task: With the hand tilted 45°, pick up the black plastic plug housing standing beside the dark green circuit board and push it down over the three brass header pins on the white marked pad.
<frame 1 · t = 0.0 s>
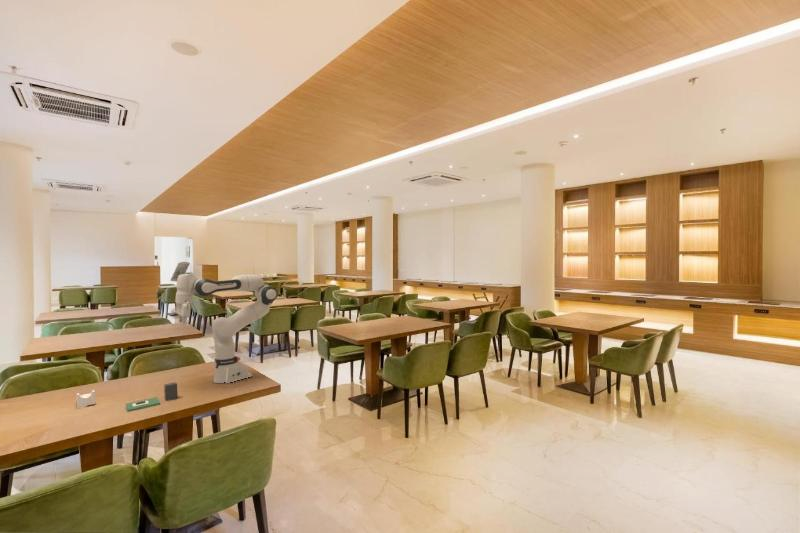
hand: (182, 323, 223), 39 cm above the table, tool pointing down, fingers open, 8 cm apart
header board: (142, 405, 200), on the table
bracket: (85, 404, 204), on the table
plug housing: (171, 398, 208), on the table
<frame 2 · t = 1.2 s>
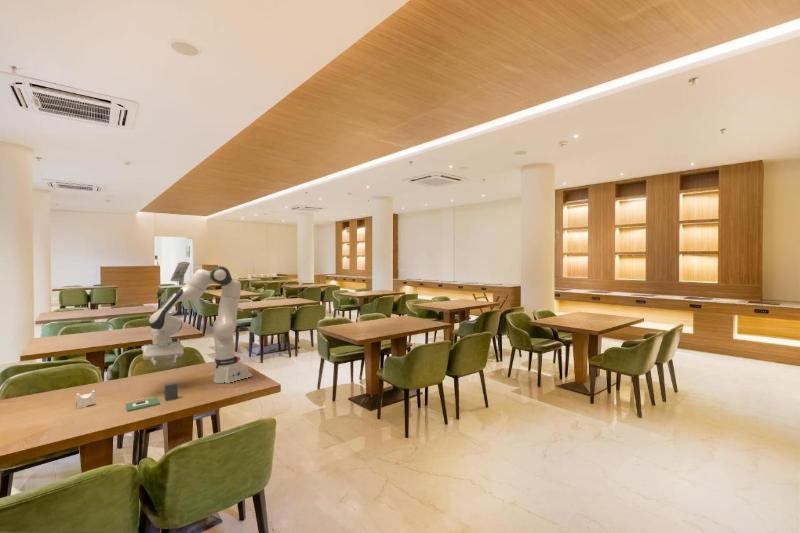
hand: (165, 363, 216), 17 cm above the table, tool tilted 45°, fingers open, 8 cm apart
nothing on the table moved.
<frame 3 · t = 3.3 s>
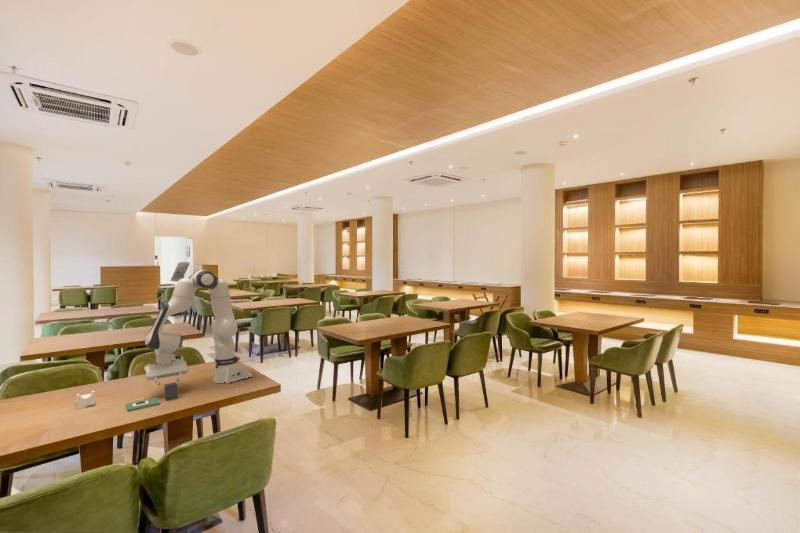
hand: (168, 382, 211), 8 cm above the table, tool tilted 45°, fingers open, 8 cm apart
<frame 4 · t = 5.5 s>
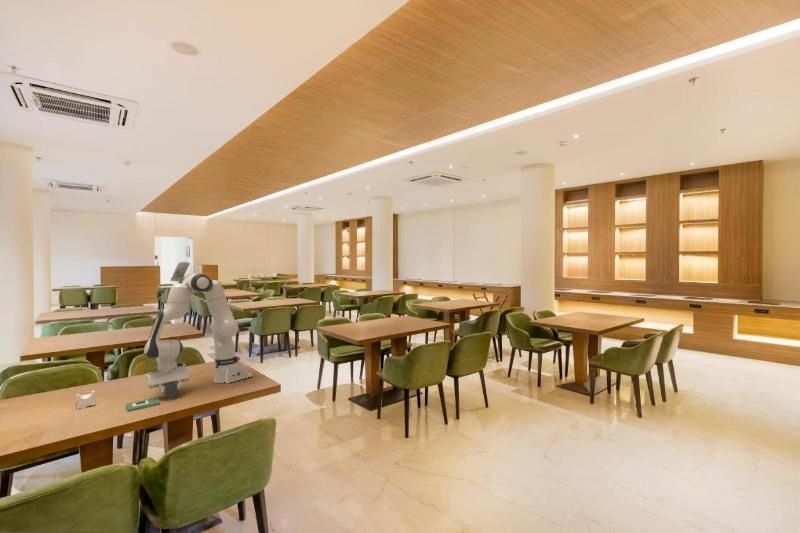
hand: (171, 390, 208), 4 cm above the table, tool tilted 45°, fingers closed on plug housing, 6 cm apart
plug housing: (171, 398, 208), on the table, touching gripper
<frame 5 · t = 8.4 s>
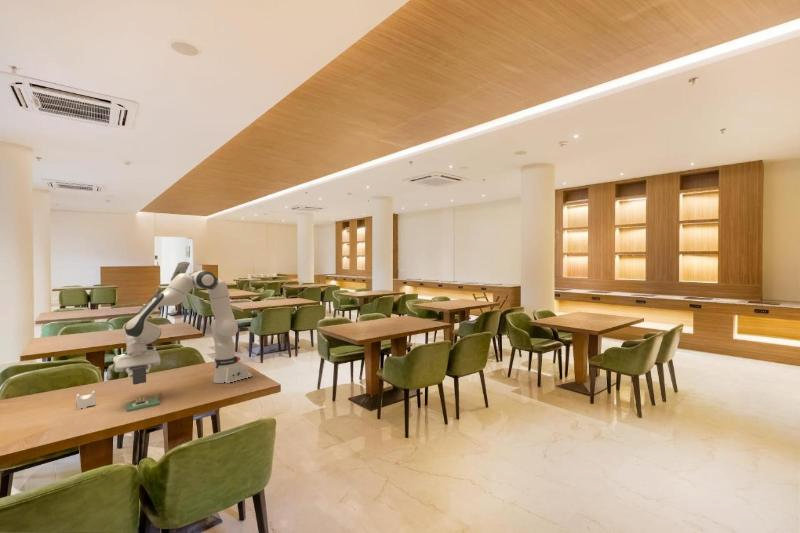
hand: (139, 374, 198), 17 cm above the table, tool tilted 45°, fingers closed on plug housing, 6 cm apart
plug housing: (139, 382, 199), point 12 cm above the table, touching gripper
when the fingers open (6 cm above the table, at t = 11.3 s): plug housing stays where it is, resting on header board.
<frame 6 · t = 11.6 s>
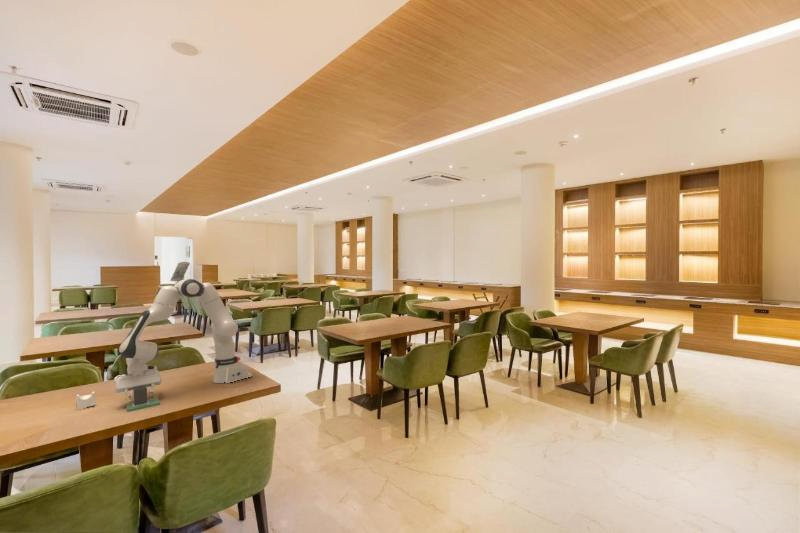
hand: (140, 395, 198), 6 cm above the table, tool tilted 45°, fingers open, 8 cm apart
plug housing: (140, 403, 199), point 1 cm above the table, touching header board
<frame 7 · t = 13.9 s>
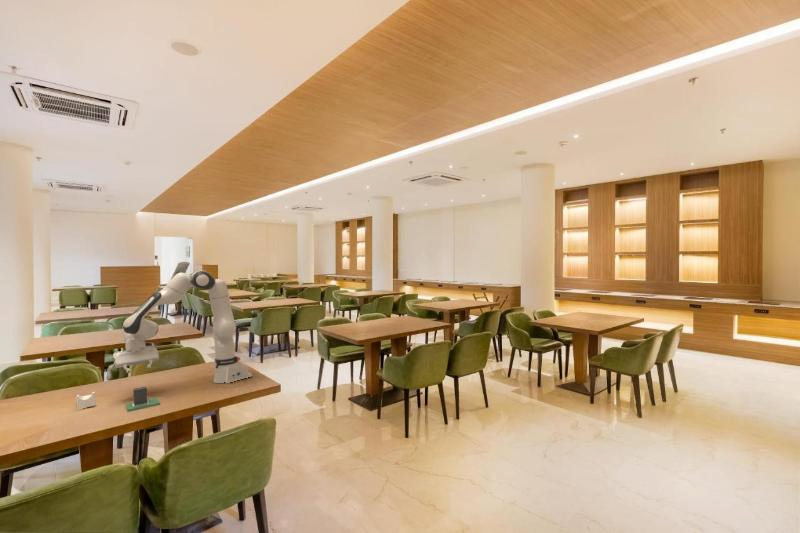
hand: (139, 370, 206), 16 cm above the table, tool tilted 45°, fingers open, 8 cm apart
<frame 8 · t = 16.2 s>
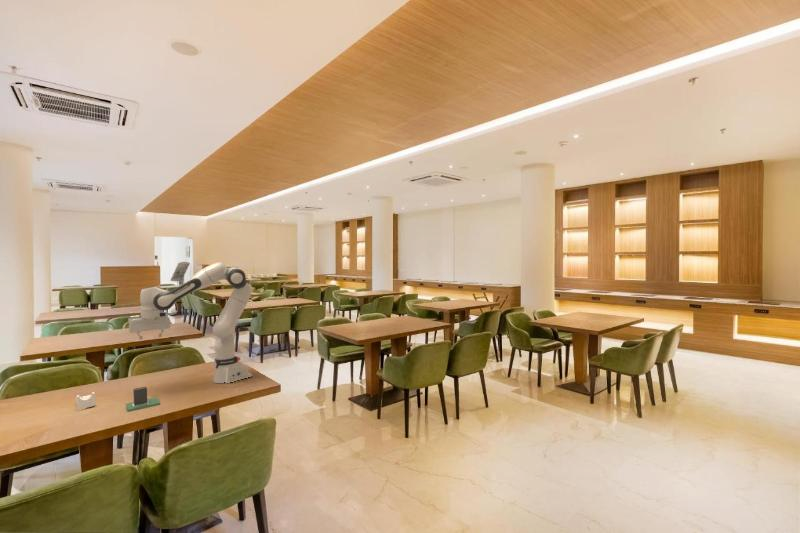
hand: (150, 338, 220), 31 cm above the table, tool pointing down, fingers open, 8 cm apart
at the end: plug housing 0.0 cm from the target spot on the header board, point 1.1 cm above the header board's base; plug housing tilted 0°; the gripper is holding nothing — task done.
